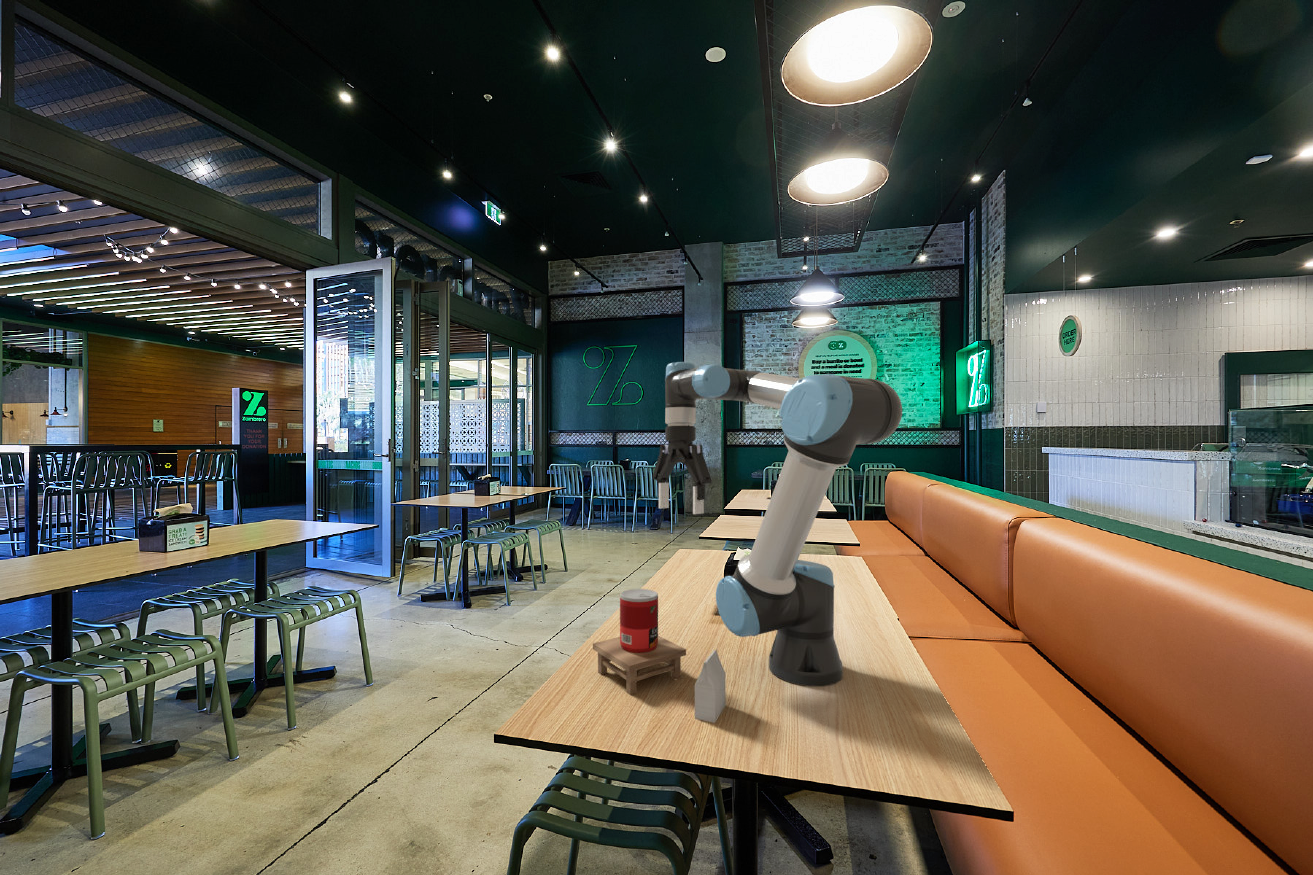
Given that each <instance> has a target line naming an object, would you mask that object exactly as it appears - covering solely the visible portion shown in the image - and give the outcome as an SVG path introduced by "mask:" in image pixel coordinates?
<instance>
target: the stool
mask: <svg viewBox="0 0 1313 875" xmlns="http://www.w3.org/2000/svg"><path fill="white" fill-rule="evenodd" d="M592 650H593V651H595V652H596V653H597V673H598V674H600V675H605V674H607V673H608V669H609V670H610V671H612V672H614V673H615V674H616V675H618V676H620V678H622V679H624V680H625V681H626V688H625V689H626V693H627V694H628V695H634V694H637V682H638V681H641V680H644V679H648V678H650V677H654V676H657V675H660V674H663V673H664V674H665V673H667V672H670V678H671V679H673V680H675V681H676V680H679V679H681V678H682V677H681V672H682V671H681V667H682V666H681V664H682V662H681V658H682V657H684V656H686V655H687V649H686V648H684V647H682V646H680V645H678V644H676V643H674V642H672V641H670V640H668V639H666V638H663V637H662V636H660V635H658V644H657V647H656V648H655V649H654V650H652V651H650V652H645V653H633V652H628V651H626V650H624V649H623V648H622V647H621V644H620V636H618V637H614V638H613V637H612V638H610V639H606V640H602V641H601V640H600V641H598V642H593V643H592ZM663 663H664V664H666V665H664V666H660V667H657V668H655V669H651V670H647V671H644V672H642V673H641V672H640V673H638V674H637V671H638V670H642V669H645V668H649V667H652V666H656V665H659V664H663ZM615 664H616V665H615ZM618 666H619V667H618ZM623 669H624V670H625V671H624V670H623Z"/></svg>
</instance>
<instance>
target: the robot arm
mask: <svg viewBox="0 0 1313 875" xmlns="http://www.w3.org/2000/svg"><path fill="white" fill-rule="evenodd" d="M664 382H665V383H664V384H665V386H664V388H665V410H664V411H665V419H664V420H665V424H666V425H667V426H666V427H665V441H667V442H668V444H660V446H659V454H658V458H657V460H656V464H655V466H654V470H653V473H652V480H655V481H656V483H657V494H658V509H669V508H670V507H669V506H670V503H669V502H670V494H669V493H670V491H669V490H670V488H669V487H670V482H669V477H670V476H671V474H672V473H673V470H674V468H676V467H675V466H676V465H678V463H680V464H683V465H684V466H685V467H686V470H687V471H688V473H689V475H690V477H691V479H692V481H693V482H694V484H693V486H692V514H693V515H701V514H702V515H703V514H705V512H704V511H705V510H704V507H705V506H704V505H705V504H704V501H705V499H706V486H707V485H709V484H712V482H713V481H712V477H711V475H710V472H709V468H708V465H707V462H706V459H705V455H704V453H703V452H704V450H703V444H693V443H694V441H696V438H697V437H696V436H697V435H696V430H697V429H696V427H695V426H694V425H695V424H696V408H697V407H696V403H697V400H708V399H709V400H720V401H721V400H723V401H737V402H738V401H739V402H746V403H751V404H756V405H757V404H758V405H761V406H765V407H769V408H773V409H777V410H779V418H780V419H781V421H780V426H781V429H782V432H783V433H784V437H783V442H784V444H785V446H786V448H787V450H788V451H787V455H786V456H785V460H784V463H783V465H782V467H781V470H780V473H779V476H778V478H777V481H776V484H775V487H774V489H773V492H772V495H771V497H770V499H769V503H768V505H767V507H766V511H765V513H764V516H763V520H762V522H761V524H760V527H759V529H758V531H757V535H756V537H755V541H754V543H753V546H752V548H751V549H750V550H751V551H750V553H749V554H746V555H743V556H742V557H741V558H740V559H739V561H738V563H737V565H736V568H735V571H734V573H733V575H726V576H724V577H722V578H721V579H720V580H719V581H718V583H717V585H716V588H715V603H716V607H717V609H718V610H717V611H718V614H719V616H720V619H721V620H722V622H723V624H724V626H725V627H726V628H727V630H728V631H730V632H731V634H734V635H735V636H737V637H741V638H742V637H743V638H745V637H746V638H747V637H756V636H758V635H763V634H767V633H770V632H776V634H775V637H774V640H773V643H772V646H771V649H770V652H769V655H768V669H769V671H770V673H772V674H773V675H774V676H775V677H777V678H779V679H781V680H783V681H786V682H789V683H792V684H795V685H796V684H797V685H802V686H810V687H821V686H829V685H833V684H836V683H838V682H839V681H841V680H842V678H843V673H844V671H843V666H844V665H843V662H842V660H841V657H840V654H839V653H840V652H839V650H838V646H837V643H836V640H835V636H834V631H835V630H834V629H835V628H834V627H835V626H834V624H835V623H834V621H835V620H834V618H835V611H834V609H835V607H834V606H835V584H834V572H833V570H832V569H831V567H829V566H827V565H825V564H823V563H819V562H815V561H814V562H813V561H809V560H804V559H803V560H802V559H799V557H800V556H801V553H802V551H803V547H805V546H804V545H805V543H806V541H807V538H808V536H809V534H810V532H811V530H812V526H813V524H814V522H815V520H816V518H817V517H816V516H817V515H818V513H819V510H820V507H821V505H822V502H823V500H824V498H825V496H826V493H827V491H828V488H829V487H830V484H831V481H832V479H833V476H834V475H835V472H836V469H838V468H841V467H844V466H847V465H848V464H849V462H850V459H851V458H852V455H853V452H854V451H855V449H856V446H857V445H871V444H875V443H879V442H882V441H884V440H886V439H888V437H890V436H891V435H892V434H893V433H894V432H895V431H896V429H898V427H899V426H900V423H901V420H902V416H903V404H902V401H901V398H900V396H899V395H898V393H897V391H896V390H895V389H894V388H892V387H891V386H890V385H889V384H887V383H886V382H883V381H881V380H878V379H874V378H873V379H872V378H862V377H861V378H860V377H853V376H852V377H851V376H844V375H836V374H833V373H825V374H811V375H807V376H804V377H802V378H800V377H794V376H788V375H780V374H773V373H768V372H764V371H760V370H747V369H736V368H735V369H734V368H725V367H724V366H722V365H720V364H716V363H715V364H714V363H712V364H704V365H702V366H698V367H697V366H696V365H695V364H694V363H693V362H687V361H677V362H671V363H667V365H666V367H665V378H664Z"/></svg>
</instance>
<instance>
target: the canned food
mask: <svg viewBox="0 0 1313 875" xmlns="http://www.w3.org/2000/svg"><path fill="white" fill-rule="evenodd" d="M619 595H620V596H619V637H620V644H621V647H622V648H623V649H624V650H626V651H628V652H633V653H645V652H650V651H652V650H654V649H655V648H656V647H657V644H658V636H659V594H658V592H657V591H655V590H652V589H647V588H632V589H631V588H630V589H627V590H622V591H621V592H620V594H619Z"/></svg>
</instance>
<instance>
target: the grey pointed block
mask: <svg viewBox="0 0 1313 875" xmlns="http://www.w3.org/2000/svg"><path fill="white" fill-rule="evenodd" d="M726 678H727V677H726V671H725V669H724V666H723V664H722V662H721V659H720V657H719V655H718V650H717V649H714V650H713V651H712V652H711V654H709V656H708V657H707V658H706V660H704V662H703V665H702V668H701V671H700V674H699V676H698V678H697V680H696V681H695V683H694V720H698V721H699V720H700V721H704V722H707V723H708V722H709V723H713V724H716V722H717V721H718V718H719V717H720V715H721V714H722V712H723V710H724V709H725V707H726V687H727V686H726Z"/></svg>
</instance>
